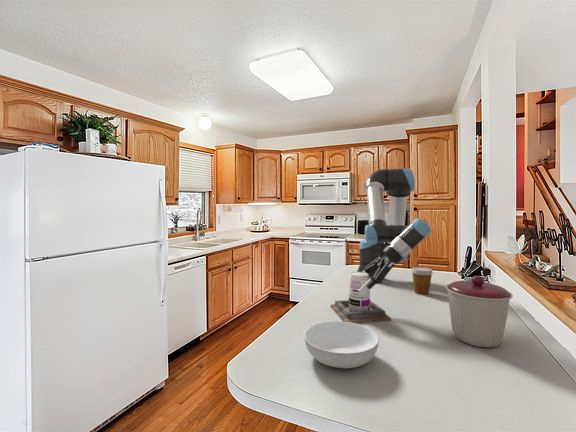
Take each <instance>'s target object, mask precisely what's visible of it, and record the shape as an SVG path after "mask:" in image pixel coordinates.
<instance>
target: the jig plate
mask: <svg viewBox="0 0 576 432" xmlns="http://www.w3.org/2000/svg"><path fill="white" fill-rule="evenodd" d="M330 308H331V309H332V310H333V311H334V313H335V314H336V315H337V316H338V317H339V318H340V319H341V321H343V322H351V323H356V324H360V323H372V322H373V323H374V322H384V321H385V322H386V321H387V322H388V321H391V320H392V318H391V317H390V316H389V315H388V314H387V313H386V311H385V310H384V309H383V308H382V307H380V306H379V305H377V304H376V303H375V302H373V301H372V300H371V299H370V310H369V311H360V312H351V311H350V309H349V299H345V300H344V299H343V300H334V303H333V304H330Z"/></svg>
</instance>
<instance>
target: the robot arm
mask: <svg viewBox="0 0 576 432" xmlns="http://www.w3.org/2000/svg"><path fill="white" fill-rule="evenodd" d="M415 189H416V182H415V175H414V172H413V170H412V169H411V168H388V169H387V168H385V169H384V168H381V169H378V170H376V171H374V172H373V173H371V174H370V175H369V176H368V177H367V179H366V181H365V183H364V193H365V194H366V196H367V197H366V198H367V214H368V224H366V225H365V227H364V239H362V240H360V242H359V247H358V250H359V263H358V267H357V271H356V272H364V273H367V274H368V275H369V277H370V280H368V281H367V282H366V283H365V284H364V285H363V286H362V287H361V288H360V289H359V290H358V291H359V292H360V293H361V294H362V295H363V296H364V295H365V294H366V293H367V292H368V291H369V290H370V291H371V289H372V288H374V287H375V286H376V285H380V284H382V282H383V280H385V278H386V276H387V275H388V274H389V273H390V271H391V270H392V269H393V268H394V267H395V265H398V264H399V263H402V262H405V261H407V259H408V257H409V255H410V254H411V251H412V250H414V249H415V248H416V247H417V246H418V245H419V244H420V243H421V242H422V241H423V240H424V239H425V238H427V237H428V236H429V235H430V234H431V232H432V228H431V226H430V225H429V224H428V223H427V222H426V220H424V219H421V218H419V217H416V218H415V219H414V220H413V221H411V222H410V223H409V224H408V225H407V224H406V213H407V203H408V202H407V201H408V198H409V197H411V194H412V193H411V192H414V191H415ZM385 192H386V193H387V196H388V197H389V205H388V207H389V208H388V225H387V218H386V211H385V202H384V201H385V200H384V194H383V193H385ZM405 224H406V225H405Z"/></svg>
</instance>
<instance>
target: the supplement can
mask: <svg viewBox="0 0 576 432" xmlns="http://www.w3.org/2000/svg"><path fill="white" fill-rule="evenodd" d="M368 280H370V277H369V275H368V274H367V273H364V272H357V271H353V272H350V275H349V276H348V300H349V309H350V311H351V312H360V311H369V310H370V300H371V289H370V290H369V291H368V292H367V293H366V294H365V295H364V296H363V295H362V294H361V293H360V292H359V291H358V290H359V289H360V288H361V287H362V286H363V285H364V284H365V283H366V282H367V281H368Z"/></svg>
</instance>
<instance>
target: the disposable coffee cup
mask: <svg viewBox="0 0 576 432" xmlns="http://www.w3.org/2000/svg"><path fill="white" fill-rule="evenodd" d="M411 273H412V280H413V281H412V282H413V288H414V293H415V294H416V295H422V296H427V295H429V294H430V287H431V281H432V275H433V270H432V268H430V267H424V266H423V267H422V266H415V267H412V269H411Z"/></svg>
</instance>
